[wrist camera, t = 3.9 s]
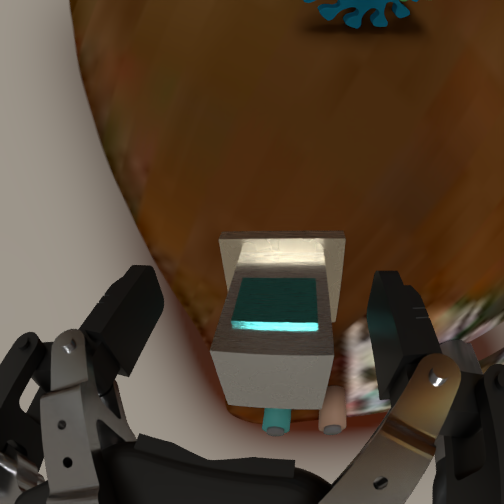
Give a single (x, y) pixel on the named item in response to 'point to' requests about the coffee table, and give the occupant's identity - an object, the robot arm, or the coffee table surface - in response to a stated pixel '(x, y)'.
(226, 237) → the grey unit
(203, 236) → the coffee table surface
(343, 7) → the gear
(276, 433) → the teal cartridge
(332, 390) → the beige cylinder
